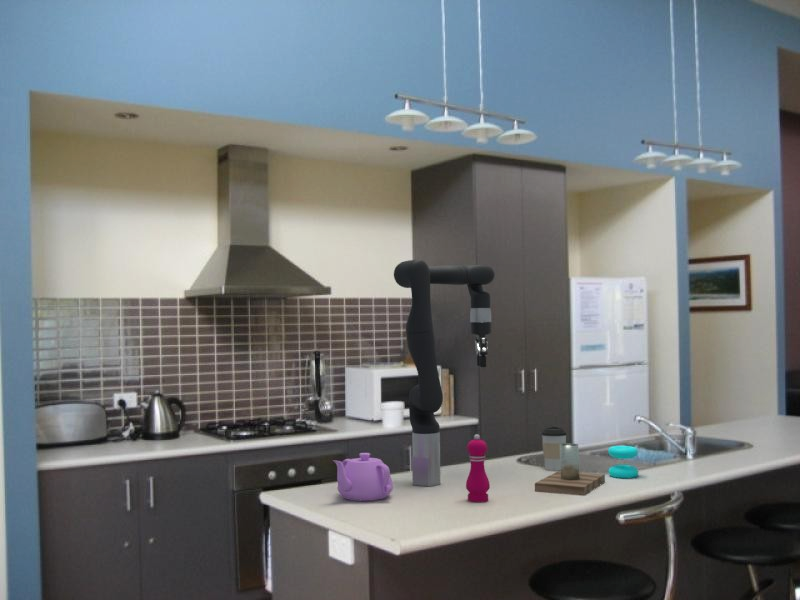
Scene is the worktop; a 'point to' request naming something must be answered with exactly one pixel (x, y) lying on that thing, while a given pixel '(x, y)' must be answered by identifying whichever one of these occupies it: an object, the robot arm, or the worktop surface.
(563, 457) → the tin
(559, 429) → the coffee cup
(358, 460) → the teapot
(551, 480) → the board
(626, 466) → the pair of cyan discs
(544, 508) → the worktop surface
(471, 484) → the pepper mill
